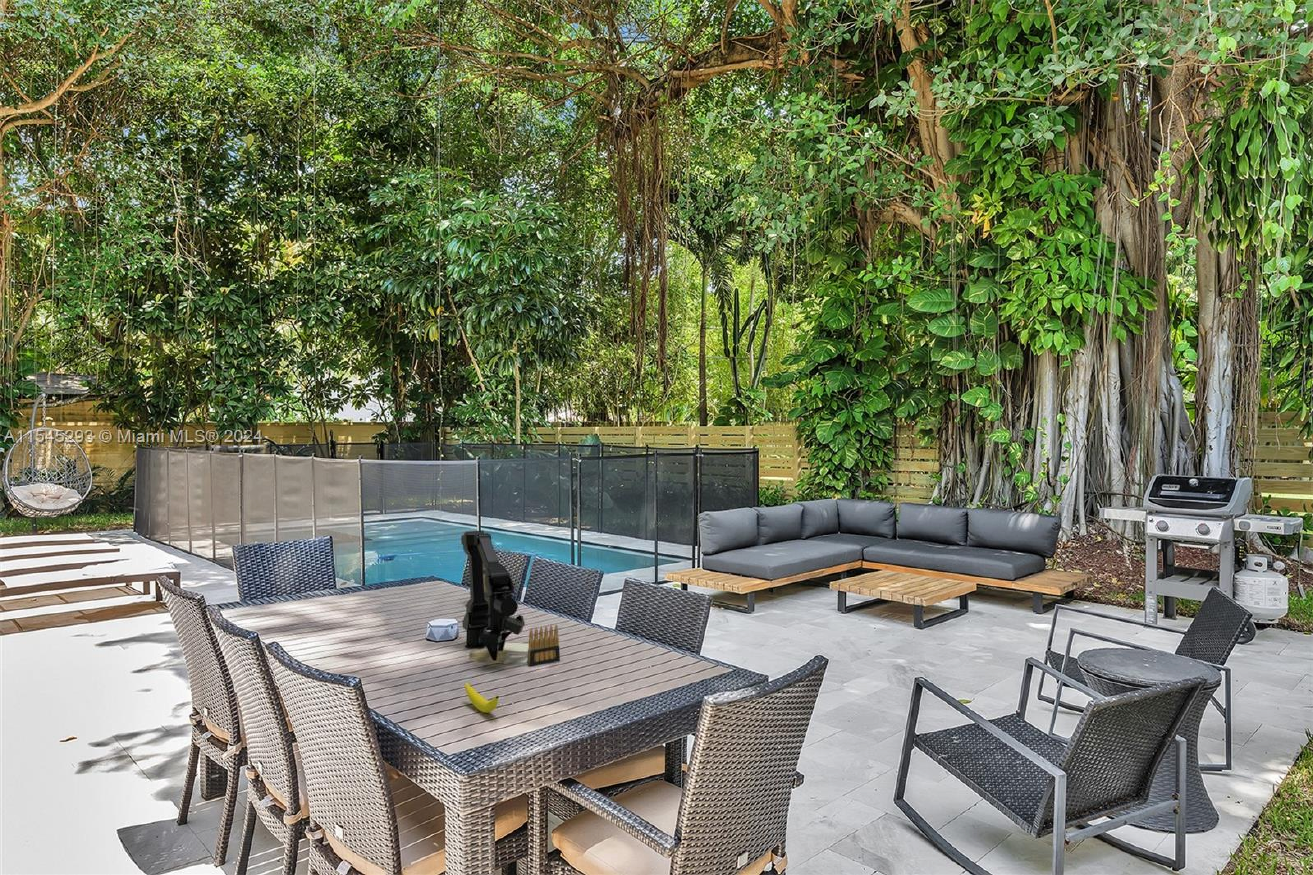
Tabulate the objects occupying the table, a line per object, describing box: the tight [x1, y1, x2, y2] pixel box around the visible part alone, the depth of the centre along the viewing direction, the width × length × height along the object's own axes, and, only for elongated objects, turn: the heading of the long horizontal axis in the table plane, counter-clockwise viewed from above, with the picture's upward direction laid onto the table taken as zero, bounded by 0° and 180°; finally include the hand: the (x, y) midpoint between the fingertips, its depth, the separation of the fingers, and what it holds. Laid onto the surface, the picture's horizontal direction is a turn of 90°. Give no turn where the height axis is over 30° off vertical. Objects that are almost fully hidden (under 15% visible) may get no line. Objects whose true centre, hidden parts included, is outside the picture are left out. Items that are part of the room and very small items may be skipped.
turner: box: [469, 649, 528, 666], centre depth 247 cm, size 19×6×3 cm, turn 84°
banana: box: [464, 682, 500, 714], centre depth 205 cm, size 3×19×6 cm, turn 39°
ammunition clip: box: [526, 623, 561, 668], centre depth 246 cm, size 11×2×12 cm, turn 124°
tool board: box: [503, 642, 529, 656], centre depth 259 cm, size 22×9×1 cm, turn 84°
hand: (497, 657), depth 248 cm, fingers open, 5 cm apart
